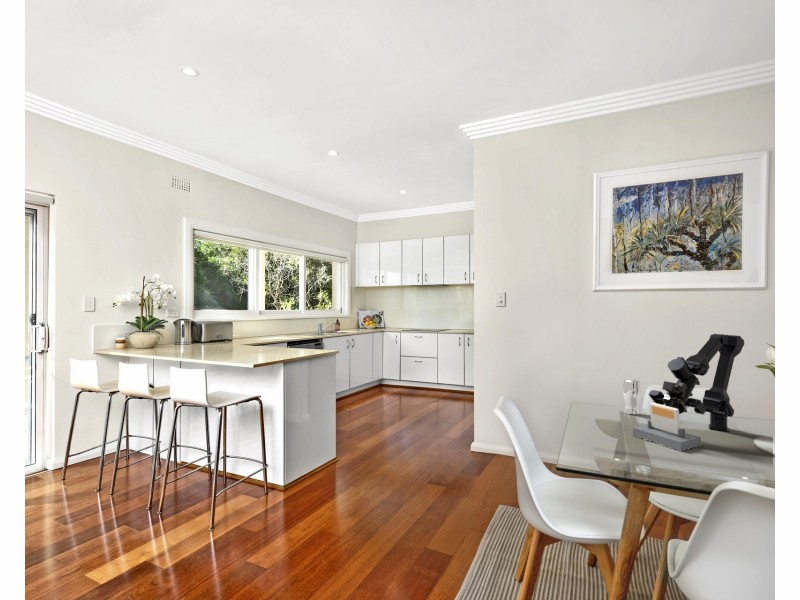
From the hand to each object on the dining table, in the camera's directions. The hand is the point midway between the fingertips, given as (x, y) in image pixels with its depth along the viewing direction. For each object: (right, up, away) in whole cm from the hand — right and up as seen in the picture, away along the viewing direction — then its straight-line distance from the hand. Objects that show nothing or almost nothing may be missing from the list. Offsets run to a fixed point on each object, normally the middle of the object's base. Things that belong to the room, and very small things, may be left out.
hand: (666, 419), depth 161 cm
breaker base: (0, -8, 0) cm, 8 cm away
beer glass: (+7, -8, +37) cm, 38 cm away
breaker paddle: (0, -4, 0) cm, 4 cm away
